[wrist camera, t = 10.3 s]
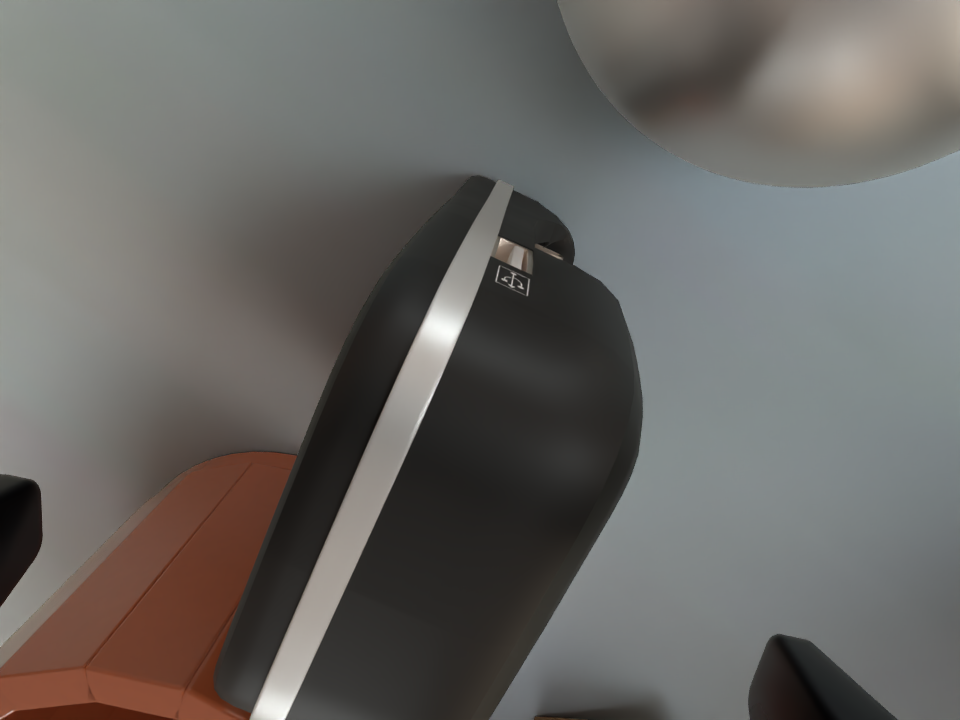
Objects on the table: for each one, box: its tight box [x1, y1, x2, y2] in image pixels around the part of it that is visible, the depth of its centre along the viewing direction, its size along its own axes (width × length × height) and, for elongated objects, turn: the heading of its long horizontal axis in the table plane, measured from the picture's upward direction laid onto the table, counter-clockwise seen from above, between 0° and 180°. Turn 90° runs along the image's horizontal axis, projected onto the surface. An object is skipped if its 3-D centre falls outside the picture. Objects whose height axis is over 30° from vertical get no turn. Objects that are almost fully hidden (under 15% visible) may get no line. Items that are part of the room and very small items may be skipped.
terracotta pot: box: [0, 452, 297, 720], centre depth 19 cm, size 9×9×8 cm
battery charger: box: [213, 176, 643, 720], centre depth 14 cm, size 7×4×11 cm, turn 156°
